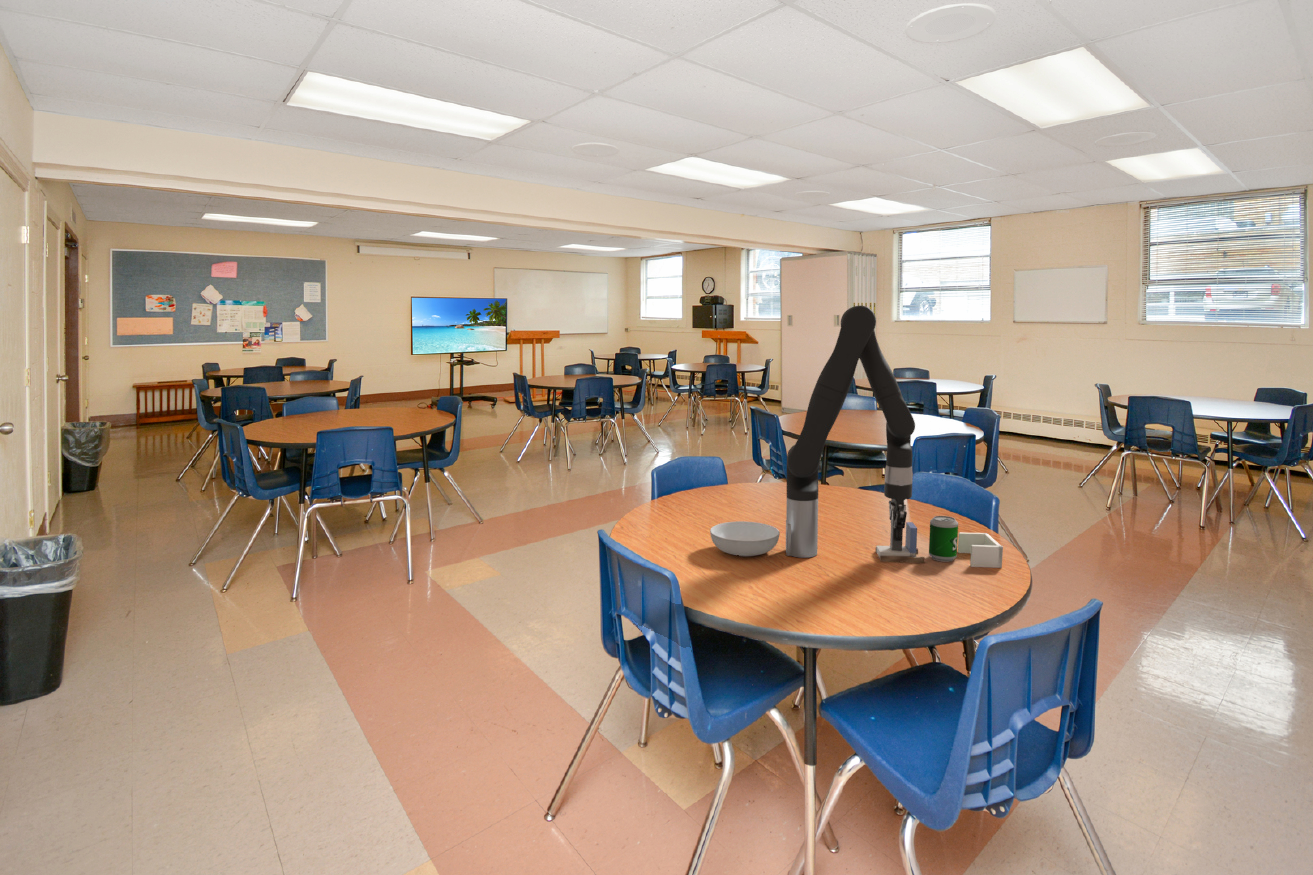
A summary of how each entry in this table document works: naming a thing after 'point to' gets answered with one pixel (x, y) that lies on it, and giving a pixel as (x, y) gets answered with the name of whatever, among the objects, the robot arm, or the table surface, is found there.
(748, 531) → the serving bowl
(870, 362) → the robot arm
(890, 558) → the track
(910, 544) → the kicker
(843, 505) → the table surface
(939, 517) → the soda can
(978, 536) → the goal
